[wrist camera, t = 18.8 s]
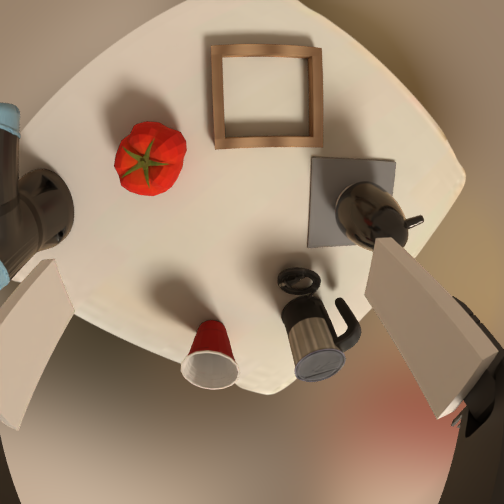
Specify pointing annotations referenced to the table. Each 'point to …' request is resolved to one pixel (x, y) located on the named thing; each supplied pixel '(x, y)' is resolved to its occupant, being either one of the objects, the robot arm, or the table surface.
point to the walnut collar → (269, 51)
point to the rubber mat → (330, 187)
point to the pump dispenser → (371, 215)
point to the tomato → (150, 158)
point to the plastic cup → (211, 358)
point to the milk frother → (315, 329)
